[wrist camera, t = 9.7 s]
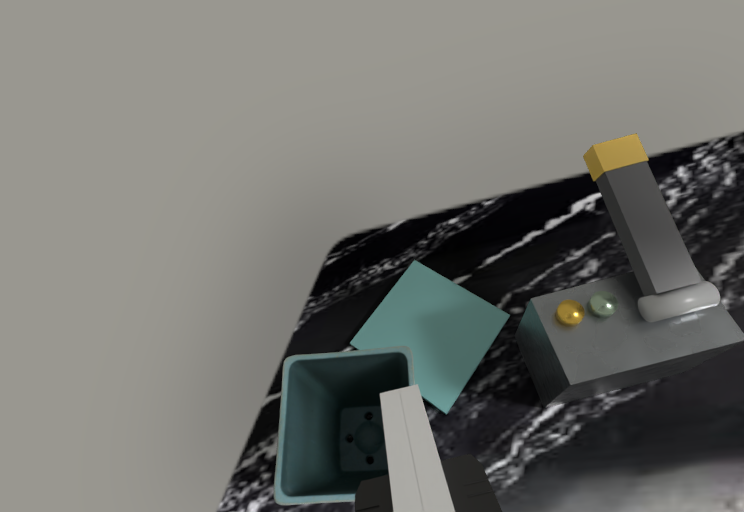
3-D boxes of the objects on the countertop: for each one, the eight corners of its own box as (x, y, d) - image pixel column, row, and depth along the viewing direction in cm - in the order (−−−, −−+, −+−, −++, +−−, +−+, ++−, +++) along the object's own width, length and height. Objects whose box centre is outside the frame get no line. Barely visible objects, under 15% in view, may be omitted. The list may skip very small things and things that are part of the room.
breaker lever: (724, 304, 25) (643, 131, 28) (658, 321, 25) (585, 147, 28) (705, 307, 26) (631, 143, 29) (644, 323, 26) (576, 157, 29)
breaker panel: (683, 372, 32) (756, 335, 24) (544, 408, 32) (574, 382, 25) (639, 301, 35) (692, 248, 28) (513, 334, 35) (531, 291, 28)
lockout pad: (509, 317, 36) (510, 315, 36) (446, 415, 33) (446, 413, 32) (414, 262, 40) (414, 259, 40) (351, 345, 37) (349, 342, 37)
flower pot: (317, 385, 36) (282, 355, 28) (419, 377, 35) (411, 344, 27) (314, 503, 31) (271, 505, 24) (430, 498, 30) (425, 499, 23)
